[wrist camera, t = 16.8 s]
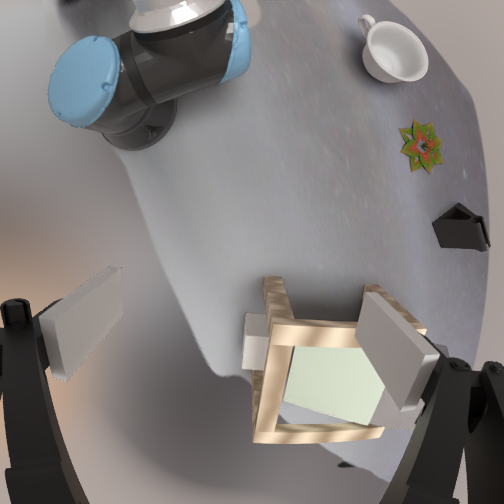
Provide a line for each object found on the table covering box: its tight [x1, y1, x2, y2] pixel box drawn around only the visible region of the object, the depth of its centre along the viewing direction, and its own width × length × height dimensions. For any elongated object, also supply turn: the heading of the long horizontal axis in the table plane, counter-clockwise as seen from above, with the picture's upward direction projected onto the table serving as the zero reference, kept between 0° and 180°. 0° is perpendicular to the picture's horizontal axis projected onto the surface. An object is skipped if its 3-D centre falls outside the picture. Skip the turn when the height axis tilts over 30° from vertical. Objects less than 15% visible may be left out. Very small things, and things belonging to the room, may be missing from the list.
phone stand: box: [432, 203, 491, 252], centre depth 48 cm, size 9×6×12 cm, turn 122°
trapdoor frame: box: [252, 276, 427, 444], centre depth 49 cm, size 23×23×20 cm
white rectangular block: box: [242, 313, 269, 371], centre depth 54 cm, size 6×7×9 cm
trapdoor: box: [283, 343, 450, 431], centre depth 44 cm, size 25×16×6 cm, turn 84°
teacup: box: [358, 15, 428, 83], centre depth 41 cm, size 12×15×10 cm
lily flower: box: [399, 119, 444, 174], centre depth 48 cm, size 12×12×5 cm
